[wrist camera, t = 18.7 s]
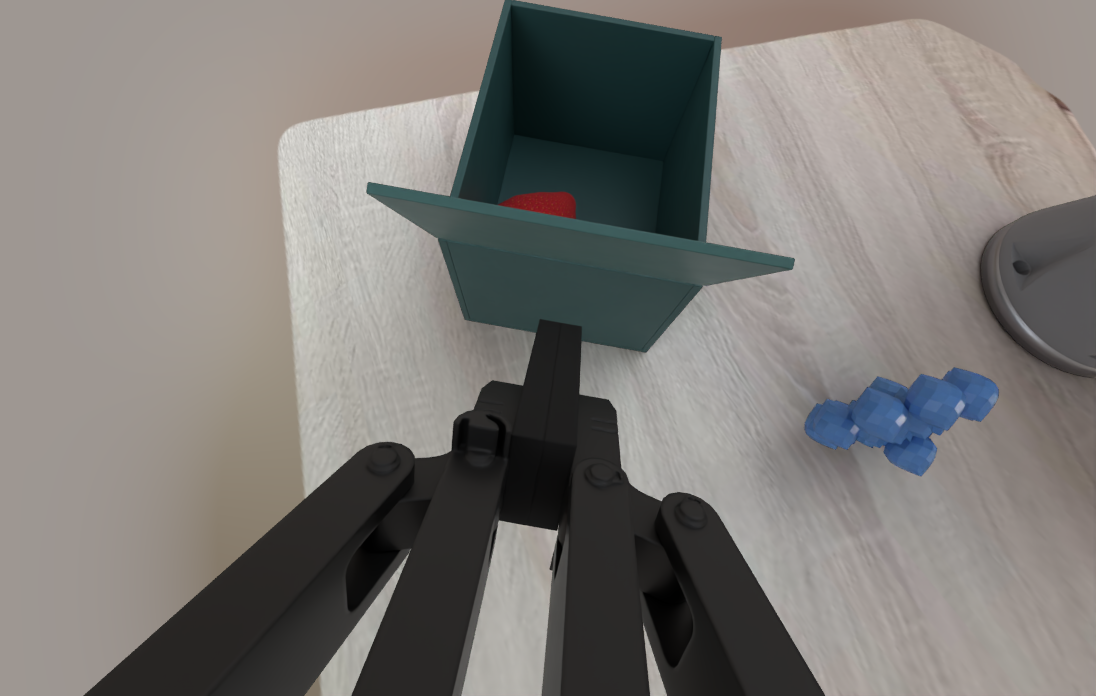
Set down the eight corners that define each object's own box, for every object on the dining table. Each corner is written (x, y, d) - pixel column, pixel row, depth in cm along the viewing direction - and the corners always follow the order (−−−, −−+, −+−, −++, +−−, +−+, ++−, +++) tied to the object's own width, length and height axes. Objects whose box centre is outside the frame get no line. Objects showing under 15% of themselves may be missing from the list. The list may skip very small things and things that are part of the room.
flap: (707, 278, 25) (705, 286, 25) (436, 230, 25) (435, 237, 25) (795, 258, 16) (793, 269, 16) (367, 181, 16) (365, 193, 16)
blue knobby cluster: (787, 496, 35) (915, 497, 24) (756, 409, 37) (860, 370, 25) (924, 462, 36) (1109, 448, 25) (887, 379, 38) (1043, 330, 27)
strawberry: (594, 242, 41) (522, 325, 38) (529, 184, 40) (451, 263, 38) (619, 212, 35) (536, 306, 32) (544, 144, 35) (453, 234, 32)
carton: (646, 352, 38) (702, 287, 26) (464, 319, 38) (437, 239, 26) (667, 161, 44) (722, 36, 32) (510, 133, 44) (505, -2, 32)
